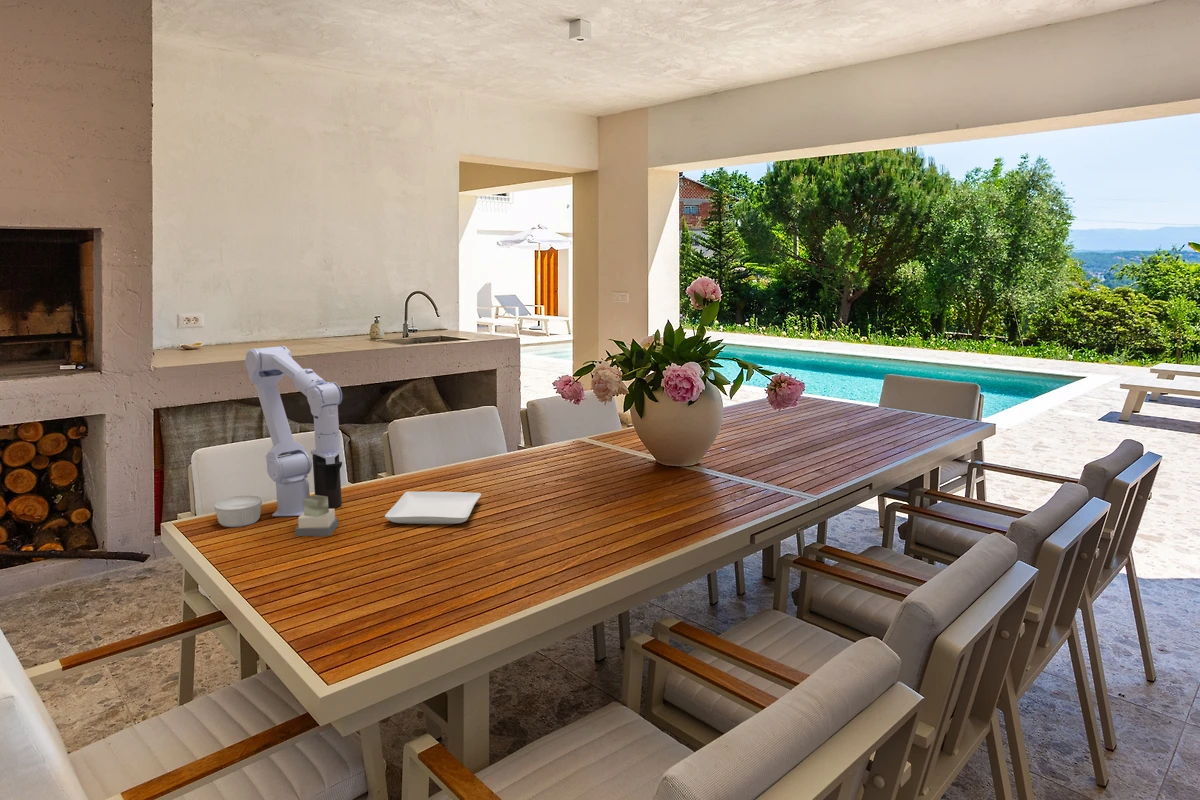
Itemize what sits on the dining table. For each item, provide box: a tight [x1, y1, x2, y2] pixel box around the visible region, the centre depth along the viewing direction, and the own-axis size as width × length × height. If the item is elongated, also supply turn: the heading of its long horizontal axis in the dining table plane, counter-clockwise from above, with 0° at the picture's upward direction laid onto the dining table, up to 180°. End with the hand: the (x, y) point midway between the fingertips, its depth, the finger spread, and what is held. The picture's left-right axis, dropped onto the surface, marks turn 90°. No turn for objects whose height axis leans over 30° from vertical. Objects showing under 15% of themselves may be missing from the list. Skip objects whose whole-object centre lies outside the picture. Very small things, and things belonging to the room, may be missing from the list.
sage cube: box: [303, 494, 329, 517], centre depth 192 cm, size 4×4×4 cm
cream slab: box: [297, 508, 336, 528], centre depth 193 cm, size 7×7×2 cm
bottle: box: [311, 448, 343, 509], centre depth 211 cm, size 7×7×20 cm
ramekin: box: [213, 495, 263, 528], centre depth 200 cm, size 11×11×5 cm
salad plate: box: [384, 490, 482, 525], centre depth 206 cm, size 21×21×3 cm
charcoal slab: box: [294, 517, 339, 538], centre depth 194 cm, size 8×8×2 cm
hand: (330, 485), depth 196 cm, fingers open, 7 cm apart
